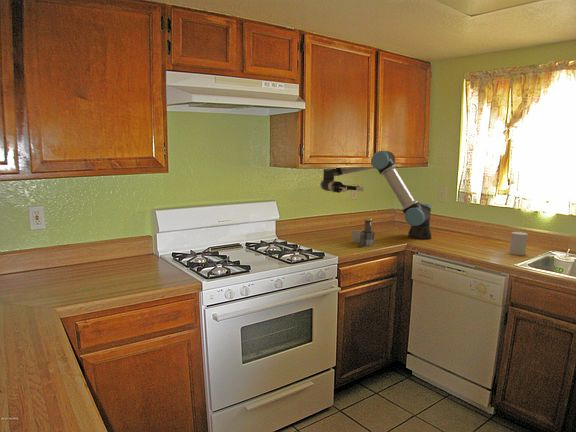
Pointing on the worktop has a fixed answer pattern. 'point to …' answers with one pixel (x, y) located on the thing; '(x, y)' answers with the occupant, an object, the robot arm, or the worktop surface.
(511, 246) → the cup
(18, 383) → the worktop surface
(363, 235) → the hinge
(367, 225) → the hinge pin
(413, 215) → the robot arm
